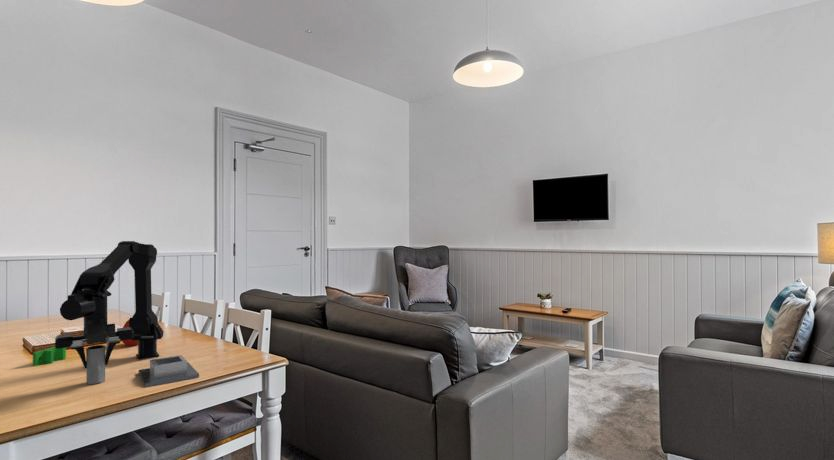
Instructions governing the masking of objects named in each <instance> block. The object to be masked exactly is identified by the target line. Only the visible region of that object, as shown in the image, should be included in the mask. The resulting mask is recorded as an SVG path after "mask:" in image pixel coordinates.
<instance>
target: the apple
mask: <svg viewBox="0 0 834 460" xmlns="http://www.w3.org/2000/svg"><path fill="white" fill-rule="evenodd" d="M126 327H129V319H128V320H126V322H125V323H124V325H123V327H122V328H126ZM121 342H122V343H123V344H124V346H127V347H134V346H138V340H131V339H129V340H121Z"/></svg>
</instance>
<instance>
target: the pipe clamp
mask: <svg viewBox="0 0 834 460" xmlns="http://www.w3.org/2000/svg"><path fill="white" fill-rule="evenodd" d="M66 358H67V347H66V348H59V349H55V346H52V347H49V348H46V349H42V350H39V351H35V352H32V366H33V367H38V366H40V365H41V366H42V365H43V364H48V365H49V364H51V365H53V364H54V362H56V361H64V360H66Z"/></svg>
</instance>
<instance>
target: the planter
mask: <svg viewBox="0 0 834 460" xmlns="http://www.w3.org/2000/svg"><path fill="white" fill-rule="evenodd" d="M85 351H86V352H85V357H86V363H87V368H85V369H86V371H85V372H86V376H85V377H86V384H87V385H96V384H101V383H103V382H105V381H106V365H105V354H106V346H105V345H103V344H98V345H97V344H96V345H90V346H87V347H86V350H85Z"/></svg>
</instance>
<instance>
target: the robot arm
mask: <svg viewBox="0 0 834 460" xmlns="http://www.w3.org/2000/svg"><path fill="white" fill-rule="evenodd" d="M157 255H158V249H157V247H155V246H154V245H153V244H150V243H149V244H148V243H147V244H145V243H140V242H137V241H134V240H122V241H119V242H118V243H117V245H116V247H115V248H114V249H113V250H112V251H111V252H110V253H109V254H108V255H107V256H106V257H105V258H104V259H103V260H102V261H101V262H100V263H99V264H96V265H94V266H91V267H89V268H87V269H86V270H84V271H82V272H81V274H80V275H79V277H78V279H77V281H76V283H75V285H74V288H73V290H72V291H71V293H70V294H69V295H67V300H64V301H63V303H62V304H61V305H60V307H59V313H60V315H61V317H62V318H63V319H65V320H67V321H74V320H79V319H82V318H83V335H76V336H75V335H74V336H73V333H68V334H67V333H65V334H58V335H56V337H54V338H55V339H54V345H55V346H54V347H55V349H59V348H66V349H67V348H70V350H73V351H74V350H75V351H76V353H77V355H79V358H80V360H81V362H82V365H83V367H84V369H86V368H87V363H86V352H85V347H84V343H86V344H87V345H93V344H98V343H101V344H102V343H103V344H104V343H106V346H105V366H107V365H108V363H109V360H110V358H111V355H112V353H113V350H114V348H115V347H116V345H117V344H120V343H121V341H122V340H129V339H131V340H138V345H137V354H135V357H136V359H137V360H143V359H144V360H145V359H152V358H157V357H160V354H159V353H158V350H157V349H158V345H157V344H158V343H157V342H158V341H157V340H161V339H162V338H163V337H164V333H165V332H164V330H163V328H162V327H161V326H160V324H159V322H158V316H157V314H156V313H155V312H154V311H153V305H152V304H153V303H152V302H153V301H152V299H153V298H152V297H153V296H152V268H153V266H154V265H155V264H156V262H157ZM127 261H128V264H129V265H130V266H131V269H133V270H134V271H133V273H134V301H135V302H134V304H135V306H134V308H135V312H134V314H133V315H132V316H131V317H129V319H128V320H129V327H126V328H123V327H119V328H117V329H116V323H108V297H111V296H112V292H110V291H109V290H110V288H111V286H112V284H113V283H114V281H115V274H116V273H117V272H118V271H119V270H120V268H121V267H122V266H123V265H124V264H125V263H126V262H127ZM108 289H109V290H108Z"/></svg>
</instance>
